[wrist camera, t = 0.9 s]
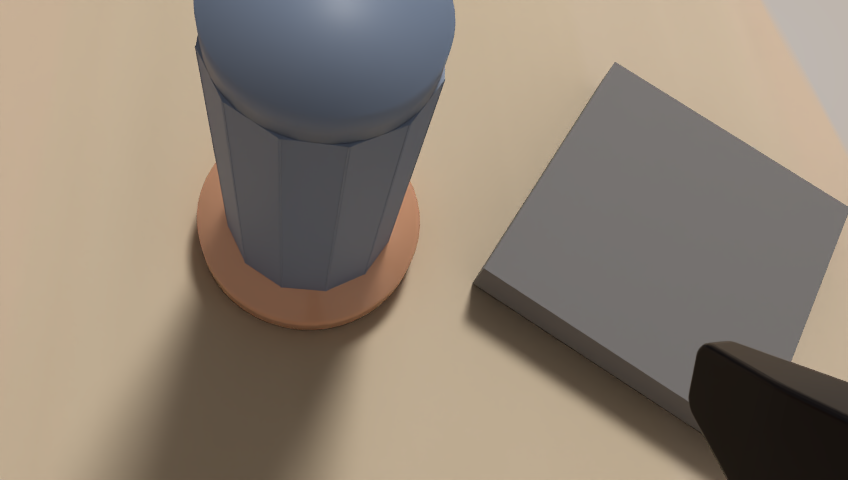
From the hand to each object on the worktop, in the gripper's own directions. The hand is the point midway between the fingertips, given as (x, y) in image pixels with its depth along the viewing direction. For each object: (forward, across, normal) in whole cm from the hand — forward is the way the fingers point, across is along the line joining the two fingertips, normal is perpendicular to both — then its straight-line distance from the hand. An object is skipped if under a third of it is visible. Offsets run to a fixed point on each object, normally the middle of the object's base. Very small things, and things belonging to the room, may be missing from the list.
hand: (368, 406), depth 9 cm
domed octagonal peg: (+14, 0, +3) cm, 15 cm away
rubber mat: (+14, -12, +5) cm, 19 cm away
